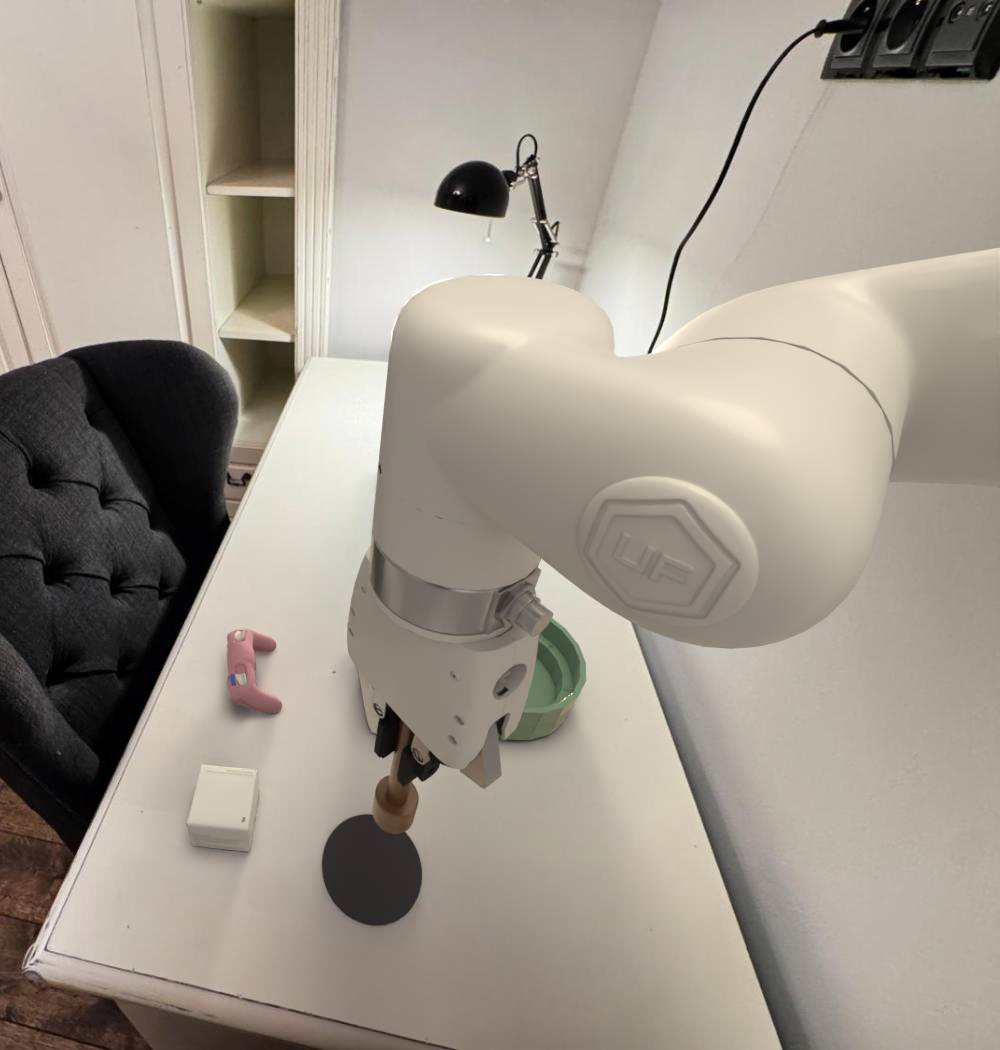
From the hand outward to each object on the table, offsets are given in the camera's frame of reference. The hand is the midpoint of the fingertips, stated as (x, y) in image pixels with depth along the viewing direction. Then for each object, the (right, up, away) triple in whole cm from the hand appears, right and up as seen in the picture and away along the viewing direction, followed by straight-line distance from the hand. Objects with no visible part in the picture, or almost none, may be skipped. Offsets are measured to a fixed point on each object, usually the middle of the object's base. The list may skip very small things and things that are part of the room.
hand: (405, 756), depth 39 cm
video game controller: (-13, -3, +28) cm, 31 cm away
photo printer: (+2, -4, +27) cm, 27 cm away
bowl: (+16, -3, +28) cm, 33 cm away
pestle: (0, -7, +5) cm, 9 cm away
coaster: (-1, -15, +13) cm, 20 cm away
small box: (-14, -13, +16) cm, 25 cm away
